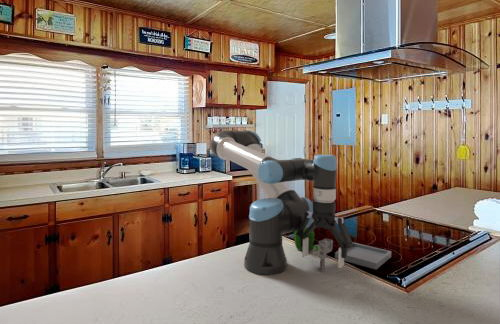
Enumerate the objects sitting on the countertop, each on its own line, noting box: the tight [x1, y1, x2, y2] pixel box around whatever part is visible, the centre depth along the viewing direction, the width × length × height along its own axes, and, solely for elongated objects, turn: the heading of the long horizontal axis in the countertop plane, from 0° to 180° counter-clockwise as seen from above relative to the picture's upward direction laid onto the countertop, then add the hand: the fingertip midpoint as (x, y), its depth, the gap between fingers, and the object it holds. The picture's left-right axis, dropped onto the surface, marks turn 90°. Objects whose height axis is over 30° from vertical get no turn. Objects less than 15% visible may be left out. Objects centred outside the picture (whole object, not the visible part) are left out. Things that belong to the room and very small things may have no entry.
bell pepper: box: [293, 227, 315, 251], centre depth 134 cm, size 8×8×10 cm
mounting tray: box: [334, 241, 392, 270], centre depth 125 cm, size 16×16×2 cm
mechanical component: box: [312, 238, 334, 272], centre depth 113 cm, size 3×10×10 cm, turn 137°
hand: (322, 261), depth 113 cm, fingers open, 13 cm apart
